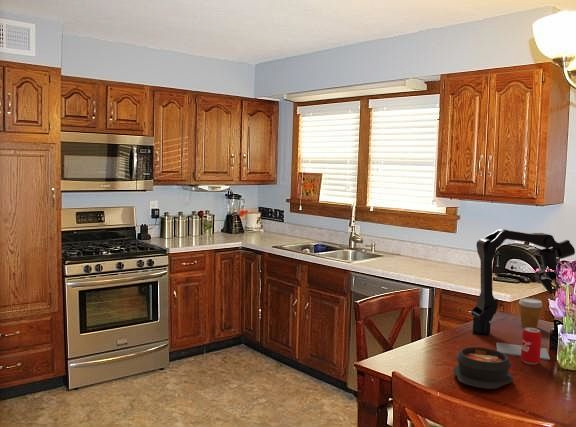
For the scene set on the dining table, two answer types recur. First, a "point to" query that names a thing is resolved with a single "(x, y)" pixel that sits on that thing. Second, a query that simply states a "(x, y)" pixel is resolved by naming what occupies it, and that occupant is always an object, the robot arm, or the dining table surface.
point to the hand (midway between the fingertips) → (557, 296)
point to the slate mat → (518, 350)
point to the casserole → (483, 368)
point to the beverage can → (531, 345)
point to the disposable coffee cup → (530, 312)
